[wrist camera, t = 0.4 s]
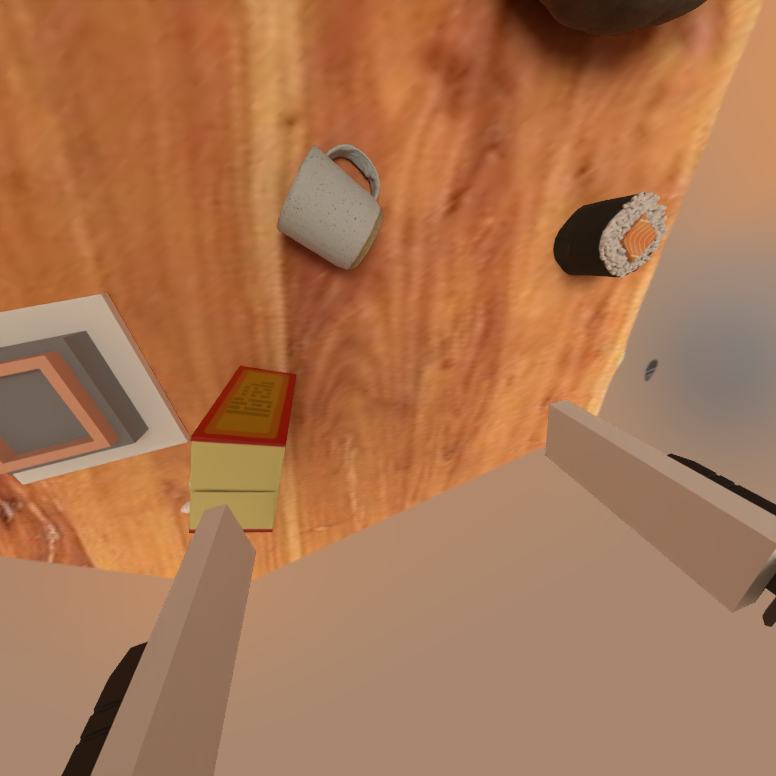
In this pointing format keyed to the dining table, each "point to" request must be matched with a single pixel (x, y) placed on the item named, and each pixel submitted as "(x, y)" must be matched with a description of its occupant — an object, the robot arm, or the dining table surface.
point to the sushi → (611, 236)
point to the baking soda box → (242, 449)
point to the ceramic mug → (333, 207)
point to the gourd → (616, 14)
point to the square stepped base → (76, 391)
